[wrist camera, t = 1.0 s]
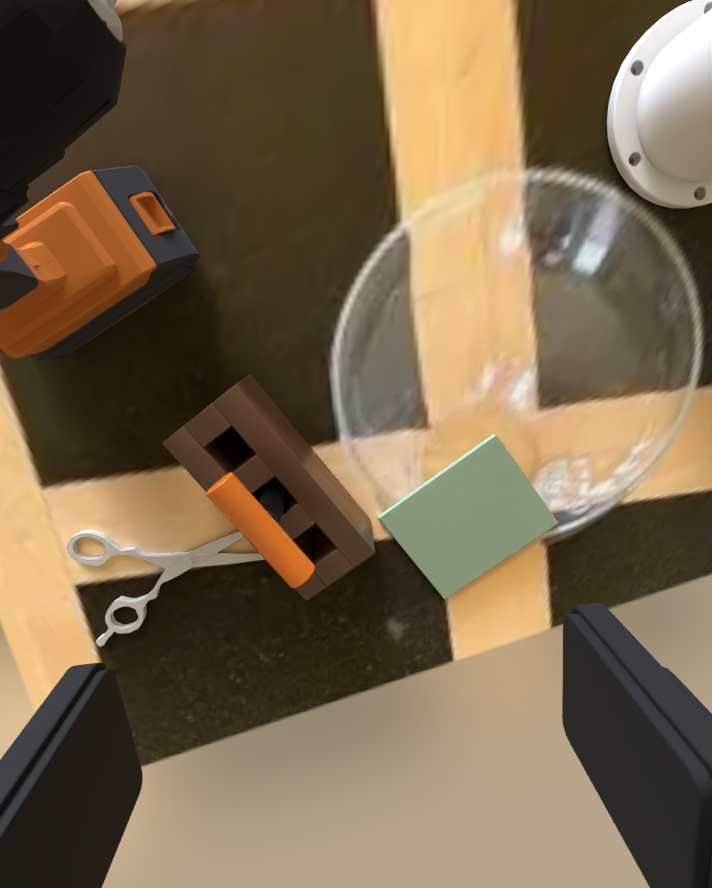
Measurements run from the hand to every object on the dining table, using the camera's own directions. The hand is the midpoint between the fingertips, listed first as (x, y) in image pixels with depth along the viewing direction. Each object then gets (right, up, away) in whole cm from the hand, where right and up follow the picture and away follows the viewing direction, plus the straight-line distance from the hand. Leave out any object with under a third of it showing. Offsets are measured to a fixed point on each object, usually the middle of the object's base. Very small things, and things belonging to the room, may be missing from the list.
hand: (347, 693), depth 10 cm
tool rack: (-6, +3, +31) cm, 31 cm away
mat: (+10, -1, +32) cm, 34 cm away
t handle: (-6, +3, +31) cm, 31 cm away
